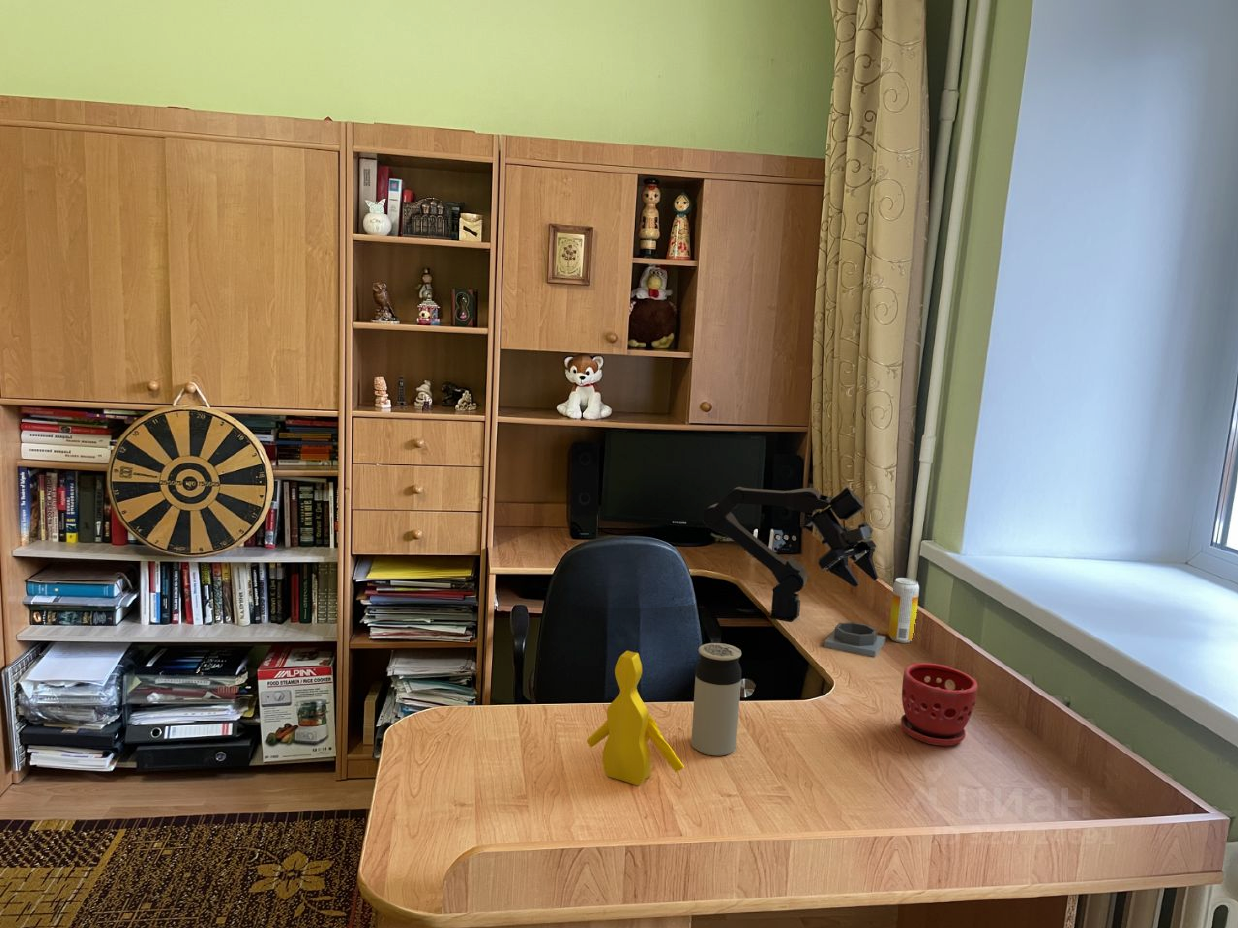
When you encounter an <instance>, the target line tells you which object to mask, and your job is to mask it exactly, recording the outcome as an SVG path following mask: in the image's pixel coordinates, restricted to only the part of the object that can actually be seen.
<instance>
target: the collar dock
mask: <svg viewBox="0 0 1238 928" xmlns="http://www.w3.org/2000/svg"><path fill="white" fill-rule="evenodd" d="M878 632H879V631H878V630H877V629H876V628H875V627H872V626H870V625H869V624H864V623H860V622H859V623H858V622H854V621H851V622H838V623H837V624H836V626H834V629H833V630H832V632H831V633H830V634H829V635H828V636H827V638H826V639H825V640H824V645H823V647H824V648H827V649H832V650H836V649H837V650H836V651H841V650H842V651H841V652H847V653H852V654H857V655H861V656H865V655H866V656H865V657H870V658H876V657H877V655H878V654H879V652H880V651H881V649H882V648H883V646H884V645H885V643H886V636H883V635H878ZM879 650H880V651H879Z"/></svg>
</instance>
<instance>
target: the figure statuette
mask: <svg viewBox="0 0 1238 928" xmlns="http://www.w3.org/2000/svg"><path fill="white" fill-rule="evenodd" d="M614 668H615V669H614V674H615V675H614V676H615V679H616V682H617V686H618V688H619V694H618V695H617V696H616V697H615V699H614V700H613V701H612V702H611V703H610V704H609V706H608V707H607V709H606V719H607V720H605V722H604V723H603V724H602V725H600V726H599V727H598V729H596V730H595V731H594V732H593V733H592V734H591V735H590V736H589V737H588V738H587V739H586V742H587V744H588V746H589V747H590V748H593V747H594V746H596V745H597V744H598V743H600V742H601V741H602V740H604V739H605V738H606V737H607V738H606V741H605V743H604V746H603V749H602V750H603V751H602V765H603V770H604V773H605V775H606V776H607V777H608V778H612V779H616V780H618V781H622V782H626V783H628V784H631V785H634V786H638V787H639V786H641V785H642V784H643V783H644V781H646V780H647V779H648V778H650V776H651V768H652V767H651V766H652V765H651V764H652V761H651V760H652V759H651V757H652V756H651V751H650V747H649V743H648V741H649V740H650V741H651V742H652V743H653V744H654V746H655V747H656V749H658V751H659V752H660V754H661V755H662V756H663V758H664V759H665V760H666V762H668V765H670V767H671V768H672V770H673V771H674V772H675V773H677V772H680V771H681V770H683V769H684V768H685V766H684V764H683V763H682V762H681V759H679V756H678V755H677V754H676V753H675V751H674V749H673V748H672V747H671V745H670V744H669V742H667V741H666V740H665V738H664V736H663V734H662V733H661V731H660V729H659V726H658V725H657V723H656V720H655V719H654V718H653V717H652V716H650V714H649V713H650V712H649V709H648V707H647V706H646V704H645V703H644V701H643V699H642V698H641V695H640V693H639V692H638V684H639V682H640V680H641V678H642V676H643V664H642V661H641V657H640V654H639V652H634V651H630V650H626V651H624V652H623V653H622V654H620V656H619V657H618V660H617V663H616V665H615V667H614Z"/></svg>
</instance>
